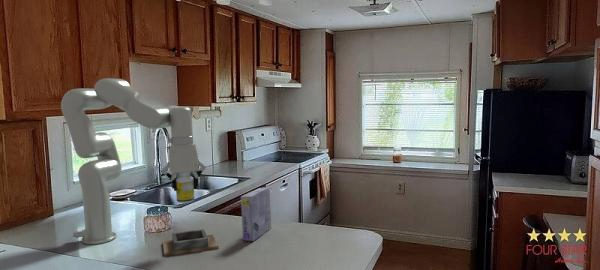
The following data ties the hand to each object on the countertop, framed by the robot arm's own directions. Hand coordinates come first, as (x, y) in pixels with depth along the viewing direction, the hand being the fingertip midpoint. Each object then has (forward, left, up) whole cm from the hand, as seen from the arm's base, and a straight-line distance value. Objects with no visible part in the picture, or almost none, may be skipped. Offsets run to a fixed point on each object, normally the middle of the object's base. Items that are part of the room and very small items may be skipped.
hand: (185, 189), depth 158 cm
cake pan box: (+28, +3, -22) cm, 36 cm away
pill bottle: (0, 0, -5) cm, 5 cm away
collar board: (+1, 0, -22) cm, 22 cm away
